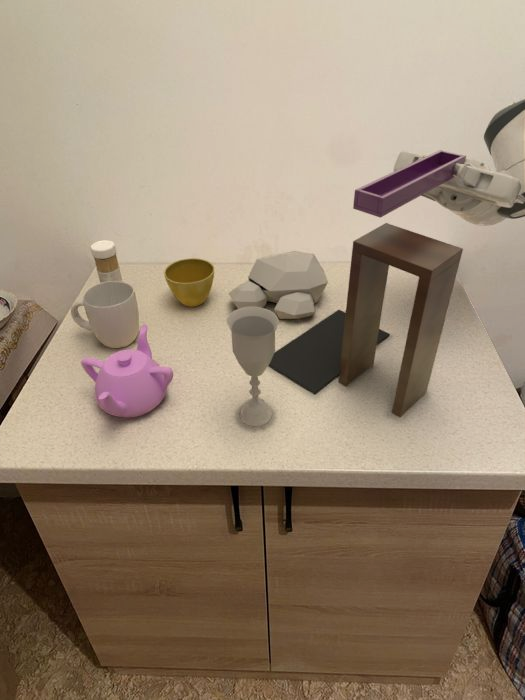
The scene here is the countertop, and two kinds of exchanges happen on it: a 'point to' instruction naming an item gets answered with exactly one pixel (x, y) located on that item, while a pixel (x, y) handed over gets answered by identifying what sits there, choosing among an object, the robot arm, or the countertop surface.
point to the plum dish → (406, 183)
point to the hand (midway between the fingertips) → (439, 164)
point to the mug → (110, 313)
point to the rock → (283, 284)
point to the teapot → (129, 380)
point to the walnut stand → (427, 314)
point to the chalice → (253, 355)
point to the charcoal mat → (315, 354)
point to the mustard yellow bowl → (190, 280)
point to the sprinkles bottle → (106, 261)
